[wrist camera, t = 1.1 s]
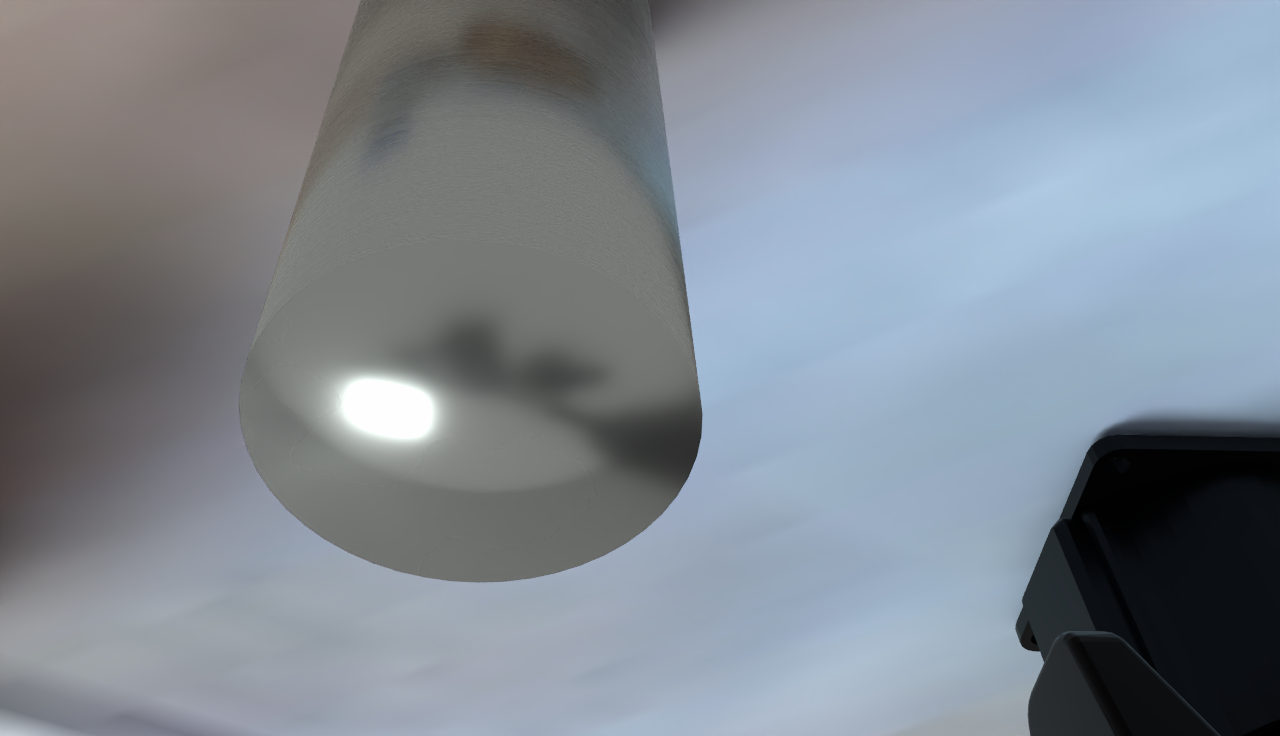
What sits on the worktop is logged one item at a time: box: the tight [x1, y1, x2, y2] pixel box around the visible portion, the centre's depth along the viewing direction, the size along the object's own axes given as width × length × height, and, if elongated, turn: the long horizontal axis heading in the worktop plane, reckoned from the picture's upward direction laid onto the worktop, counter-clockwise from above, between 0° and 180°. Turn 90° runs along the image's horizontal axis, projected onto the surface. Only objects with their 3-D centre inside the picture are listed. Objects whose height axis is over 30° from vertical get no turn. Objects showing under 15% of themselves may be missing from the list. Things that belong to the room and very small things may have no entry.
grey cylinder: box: [239, 0, 702, 582], centre depth 15 cm, size 4×4×10 cm
